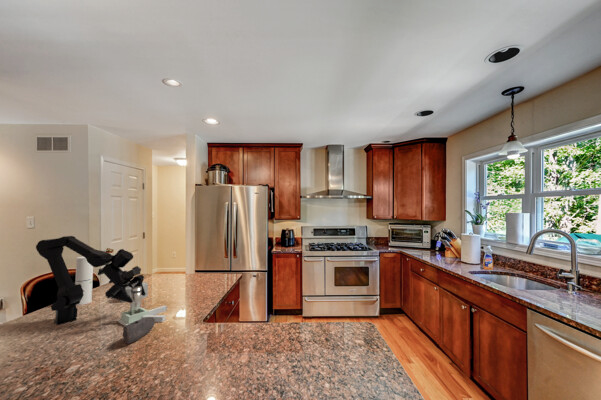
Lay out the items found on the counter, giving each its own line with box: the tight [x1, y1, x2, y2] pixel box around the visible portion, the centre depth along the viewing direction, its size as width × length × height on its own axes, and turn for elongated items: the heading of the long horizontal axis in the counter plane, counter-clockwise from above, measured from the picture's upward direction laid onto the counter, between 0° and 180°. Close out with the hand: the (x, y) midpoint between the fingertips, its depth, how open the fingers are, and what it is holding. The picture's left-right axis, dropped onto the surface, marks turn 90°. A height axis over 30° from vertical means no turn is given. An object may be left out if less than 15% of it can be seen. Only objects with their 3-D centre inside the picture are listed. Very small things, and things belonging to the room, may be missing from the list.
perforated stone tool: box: [122, 317, 156, 345], centre depth 96 cm, size 15×5×7 cm, turn 168°
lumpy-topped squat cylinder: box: [120, 281, 149, 303], centre depth 140 cm, size 10×13×9 cm
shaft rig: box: [117, 305, 168, 327], centre depth 113 cm, size 19×18×4 cm
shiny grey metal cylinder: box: [129, 286, 142, 316], centre depth 112 cm, size 4×4×14 cm
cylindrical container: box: [74, 256, 94, 306], centre depth 134 cm, size 7×7×25 cm
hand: (138, 298), depth 112 cm, fingers open, 9 cm apart
